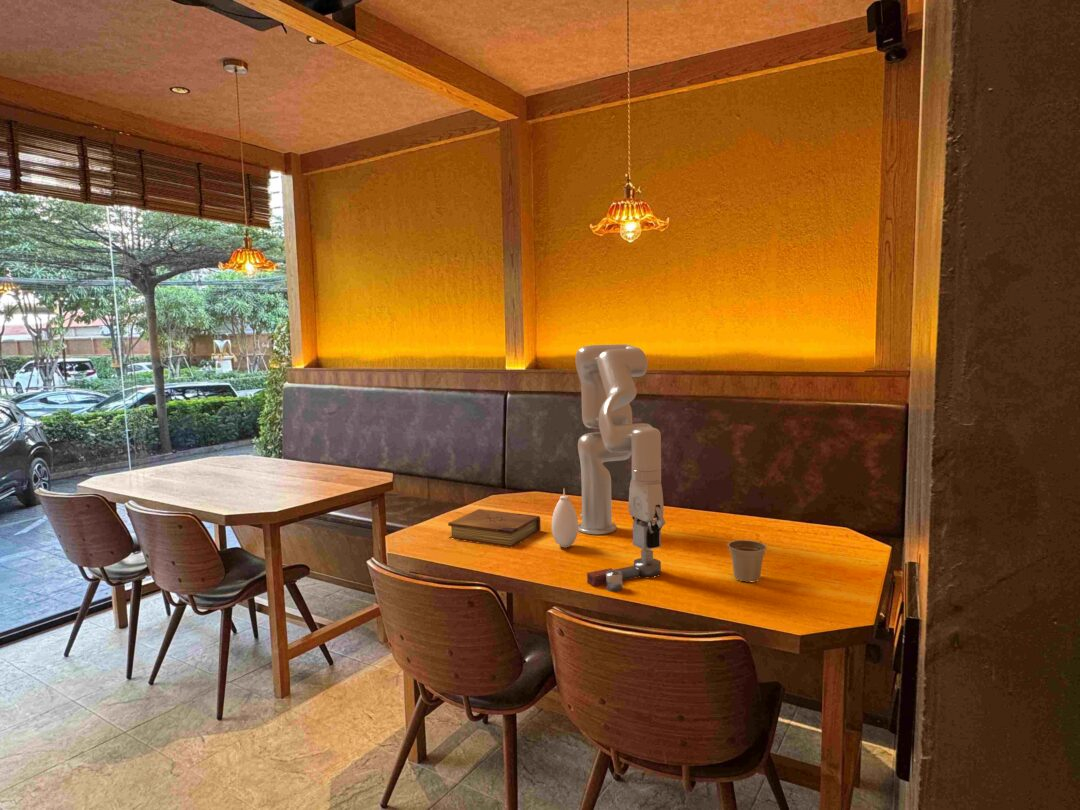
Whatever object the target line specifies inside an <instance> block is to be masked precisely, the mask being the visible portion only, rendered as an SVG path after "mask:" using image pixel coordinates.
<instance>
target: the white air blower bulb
mask: <svg viewBox="0 0 1080 810" xmlns="http://www.w3.org/2000/svg"><path fill="white" fill-rule="evenodd" d="M562 494H563V495H560V497H559V500H558V502H557V503H556V505H555V508H554V510H553V513H552V517H551V533H552V536H553V539H554V541H555V543H556V544H558V545H559V547H561V548H563V547H564V549H567V547H568V548H569V547H572V544H574V543H575V542H576V540H577V537H578V534H579V533H578V531H579V530H578V525H579V521H578V520H579V519H578V516H577V513H576V510H575V509H576V508H575V507H574V505H573V503H572V501H571V500H570V499H569V498H570V497H569V496H568V495H566V489H565V488H563V492H562Z"/></svg>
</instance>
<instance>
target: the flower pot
mask: <svg viewBox="0 0 1080 810" xmlns="http://www.w3.org/2000/svg"><path fill="white" fill-rule="evenodd" d="M727 548H729V552H730V555H731V562H732V570H733V578H734V577H735V578H736V579H738V580H741V581H745V582H748V581H749V582H748V583H750V581H757V580H759V581H760V579H761V572H762V568H763V567H762V566H763V559H764V556H765V554H766V550H767V549H768V546H767V545H766V544H764V543H762V542H761V541H755V540H749V539H745V540H744V539H740V540H733V541H730V542H728V543H727ZM735 578H734V579H735ZM736 579H735V580H736ZM738 580H737V581H738ZM741 581H740V582H741ZM757 582H758V581H757Z"/></svg>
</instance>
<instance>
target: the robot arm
mask: <svg viewBox="0 0 1080 810" xmlns="http://www.w3.org/2000/svg"><path fill="white" fill-rule="evenodd" d="M648 363H649V361H648V358H647V355H646V353H645V352H644V350H642V349H641V348H640V347H637V346H634V345H630V344H593V345H585V346H583V347H580V348H578V350H577V351H576V354H575V368H576V373H577V375H578V378H579V382H580V386H581V389H580V390H581V419H582V423H583V425H584V426H585V427H586V428H588V429H599V431H598V432H597V431H595V432H588V433H584V434H583V435H581V436H580V437H579V439H578V441H577V452H578V456H579V462H580V474H581V475H580V477H581V478H580V479H581V480H580V481H581V482H580V483H581V513H580V514H579V517H580V518H581V522H580V523H578V531H579V532H580V533H583V534H588V535H607V534H612V533H614V532H616V531H617V528H618V527H617V524H616V523H614V522H612V521H613V520H612V516H613V515H612V477H611V473H610V471H609V470H608V469H607V467H606V466H605V465H604V463H607V462H617V461H626V460H628V459H631V479H630V482H629V489H628V490H629V491H628V514H629V515H630V516H631V517H632V520H633V522H637V521H644V522H648V527H649V532H648V548H653V549H655V548H654V547H658V548H660V547H659V532H660V531H661V532H662V529H663V526H664V525H666V520H665V518H664V509H665V508H664V495H663V494H664V493H663V487H662V437H661V436H662V435H661V432H660V431H661V430H659V429H658V428H656V427H653V426H652V425H651V424H650V423H646V422H645V423H644V422H643V423H640V422H639V423H633V413H632V412H633V411H632V406H631V404H630V403H631V402H632V401H634V400H635V398H636V396H637V388H636V384H635V382H634V379H633V378H635V377H639V378H640V377H643V376H644V375H646V373H647V371H648V365H649V364H648ZM654 522H655V525H654V526H652V523H654Z"/></svg>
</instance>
